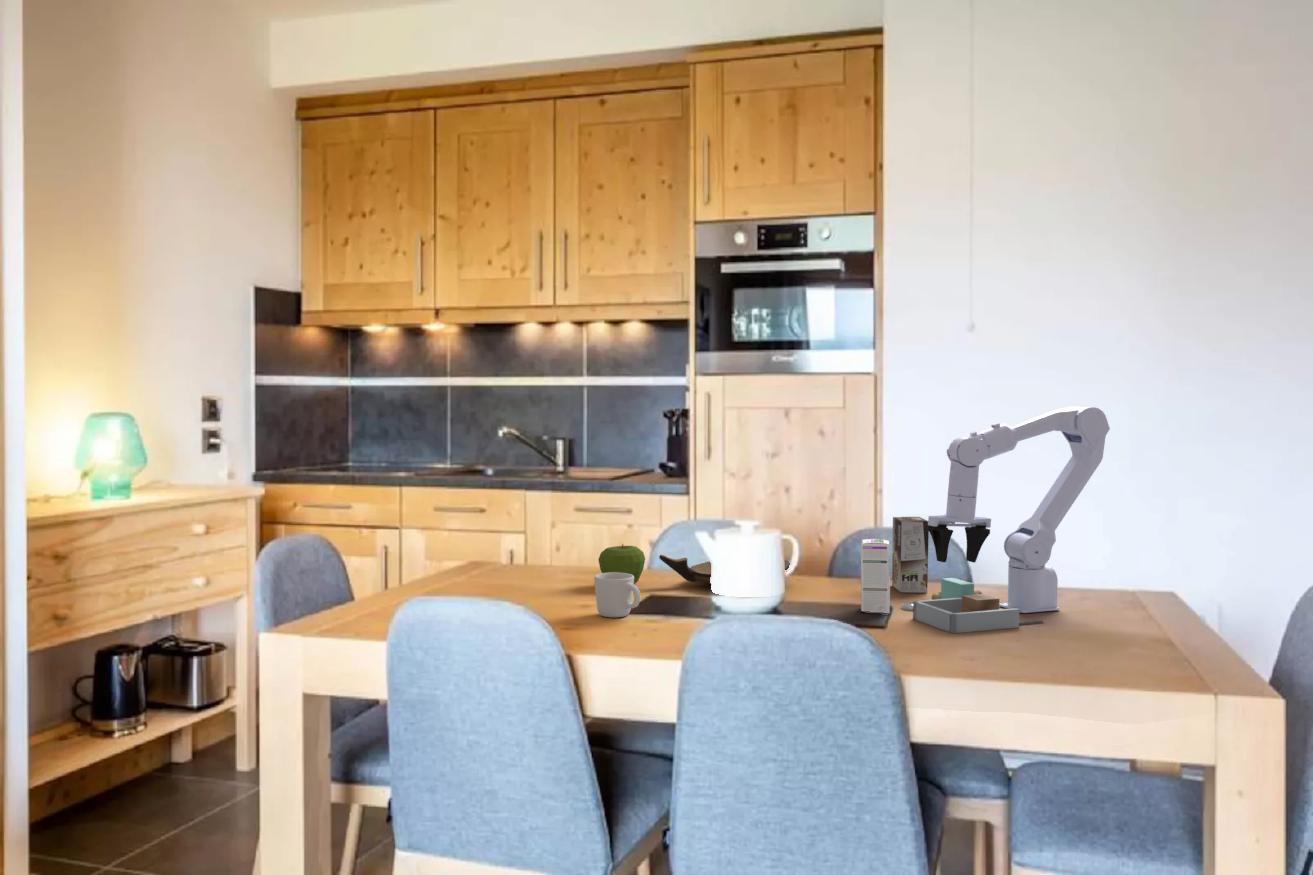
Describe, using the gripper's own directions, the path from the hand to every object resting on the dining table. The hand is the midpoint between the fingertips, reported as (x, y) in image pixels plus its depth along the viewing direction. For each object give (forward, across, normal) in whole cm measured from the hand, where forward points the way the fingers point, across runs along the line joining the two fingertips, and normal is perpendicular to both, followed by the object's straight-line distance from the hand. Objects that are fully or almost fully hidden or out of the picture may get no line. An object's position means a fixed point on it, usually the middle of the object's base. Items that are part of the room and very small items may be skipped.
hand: (956, 561), depth 219 cm
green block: (+10, -1, 0) cm, 10 cm away
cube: (+10, +2, +11) cm, 15 cm away
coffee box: (+10, -6, -22) cm, 25 cm away
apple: (+15, +54, -48) cm, 74 cm away
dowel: (+10, -6, -6) cm, 14 cm away
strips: (+9, -6, +12) cm, 16 cm away
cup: (+15, +66, -20) cm, 70 cm away
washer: (+11, +7, -4) cm, 13 cm away
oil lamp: (+13, +30, -42) cm, 53 cm away
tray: (+10, +5, +11) cm, 16 cm away
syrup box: (+11, +16, -5) cm, 20 cm away
